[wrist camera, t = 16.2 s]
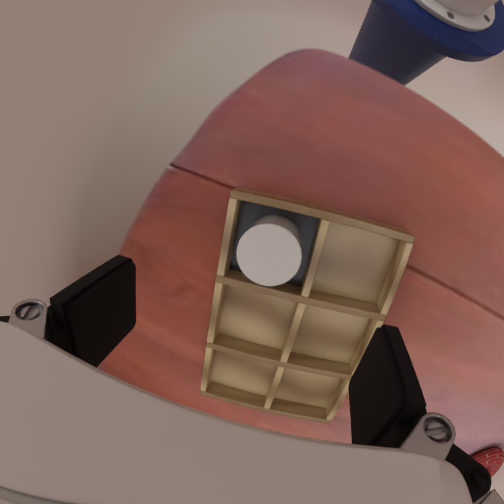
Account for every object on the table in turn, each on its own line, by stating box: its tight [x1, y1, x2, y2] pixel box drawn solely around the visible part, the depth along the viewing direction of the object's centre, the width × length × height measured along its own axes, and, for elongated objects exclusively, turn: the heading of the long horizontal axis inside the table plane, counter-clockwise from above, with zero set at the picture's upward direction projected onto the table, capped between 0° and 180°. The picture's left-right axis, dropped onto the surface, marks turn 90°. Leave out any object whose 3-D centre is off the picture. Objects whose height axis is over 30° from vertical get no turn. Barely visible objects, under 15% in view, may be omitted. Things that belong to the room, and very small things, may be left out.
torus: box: [471, 448, 504, 477], centre depth 27 cm, size 16×14×4 cm
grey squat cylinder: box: [236, 215, 302, 286], centre depth 21 cm, size 4×4×3 cm
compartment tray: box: [200, 187, 415, 423], centre depth 24 cm, size 20×14×2 cm
